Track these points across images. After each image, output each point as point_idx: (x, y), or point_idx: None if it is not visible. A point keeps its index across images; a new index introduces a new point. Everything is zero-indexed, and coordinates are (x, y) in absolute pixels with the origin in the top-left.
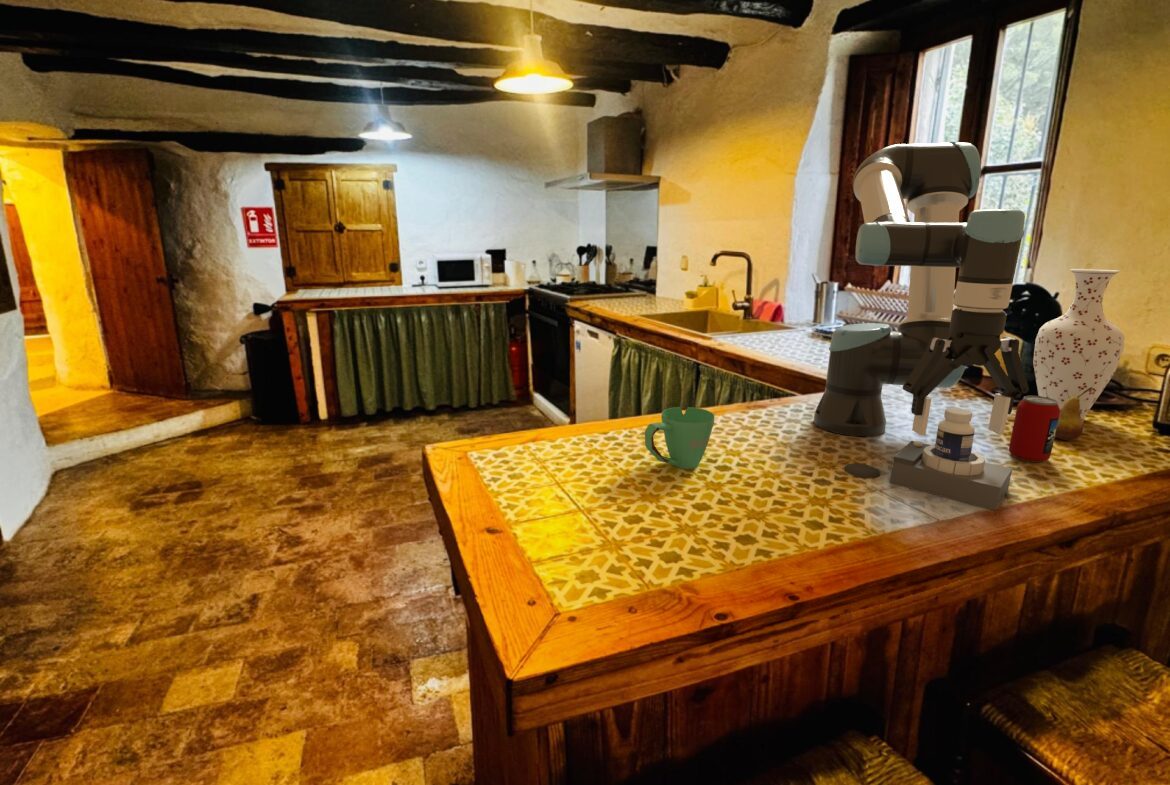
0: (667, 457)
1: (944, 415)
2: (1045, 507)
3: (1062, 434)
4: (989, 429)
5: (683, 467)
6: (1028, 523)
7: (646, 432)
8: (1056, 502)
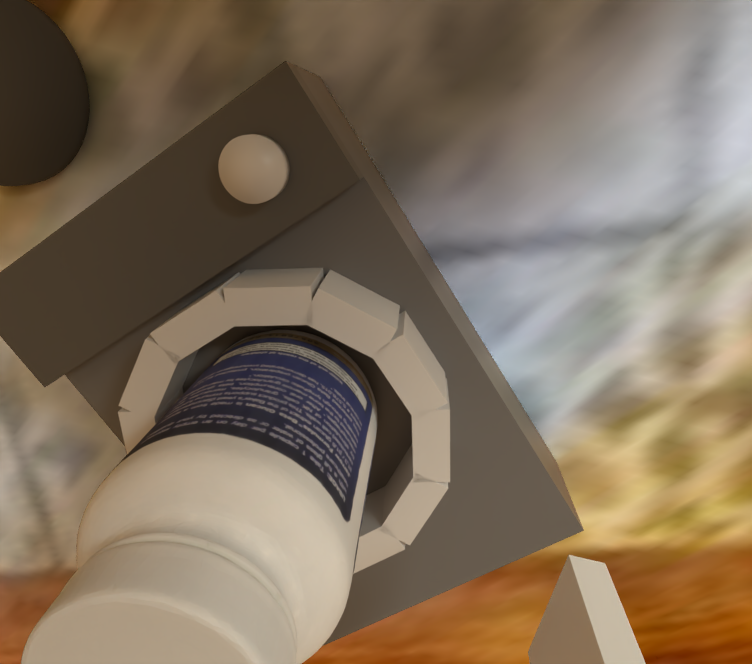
0: None
1: (64, 586)
2: (532, 604)
3: None
4: (566, 566)
5: None
6: (346, 659)
7: None
8: (624, 590)
